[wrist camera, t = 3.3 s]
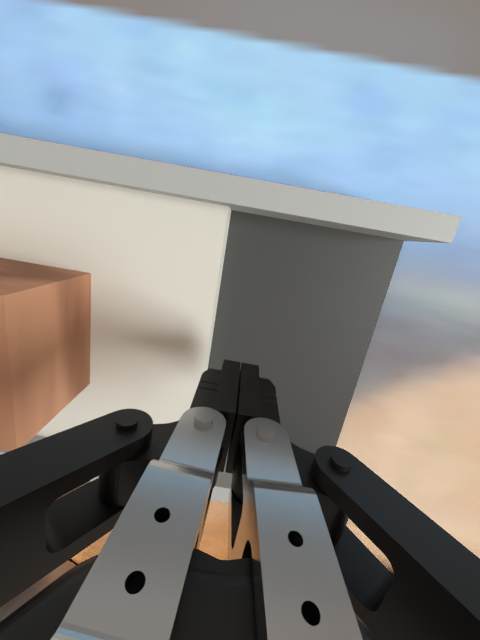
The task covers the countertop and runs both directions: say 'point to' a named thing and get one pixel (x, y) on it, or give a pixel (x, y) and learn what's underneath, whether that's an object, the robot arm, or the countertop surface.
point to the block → (40, 345)
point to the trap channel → (208, 279)
